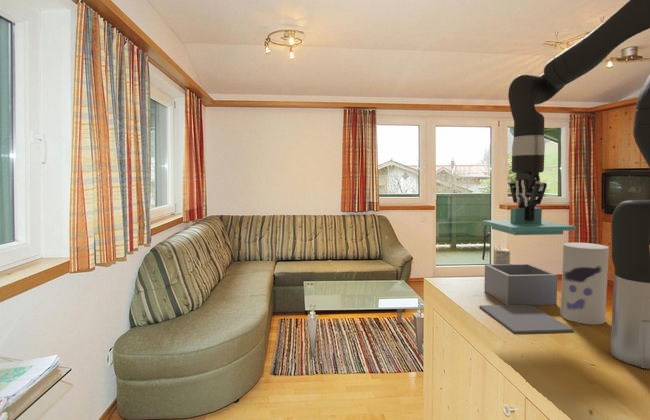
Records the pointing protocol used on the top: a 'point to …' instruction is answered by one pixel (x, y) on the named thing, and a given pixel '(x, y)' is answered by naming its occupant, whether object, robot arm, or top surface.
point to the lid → (527, 224)
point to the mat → (525, 319)
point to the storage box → (521, 284)
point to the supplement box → (501, 255)
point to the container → (584, 282)
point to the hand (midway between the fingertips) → (525, 219)
